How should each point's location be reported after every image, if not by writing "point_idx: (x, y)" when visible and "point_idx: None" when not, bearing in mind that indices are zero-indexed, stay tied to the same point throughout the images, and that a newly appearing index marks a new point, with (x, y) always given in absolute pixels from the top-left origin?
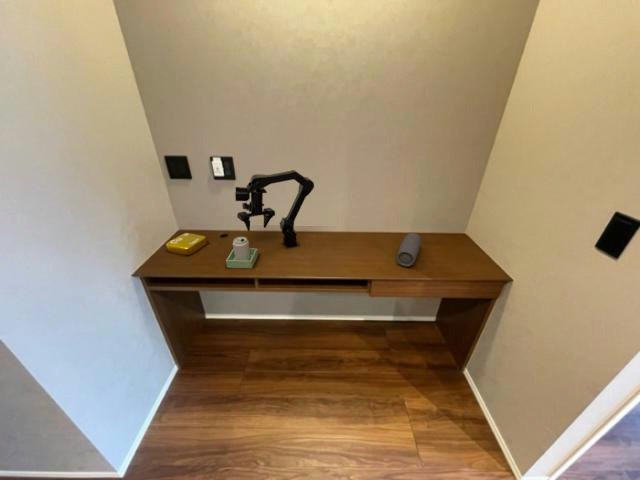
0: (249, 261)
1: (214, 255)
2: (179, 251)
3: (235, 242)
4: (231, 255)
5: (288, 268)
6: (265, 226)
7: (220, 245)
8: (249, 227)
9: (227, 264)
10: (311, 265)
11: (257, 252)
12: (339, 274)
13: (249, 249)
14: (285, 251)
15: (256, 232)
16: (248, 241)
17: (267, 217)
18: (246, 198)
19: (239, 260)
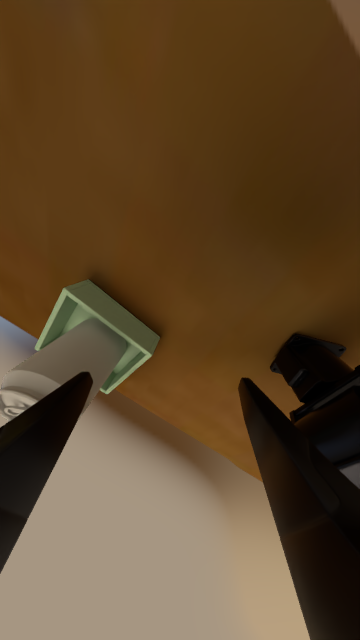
0: (103, 391)
1: (8, 225)
2: None
3: (5, 416)
4: (57, 321)
5: (191, 421)
6: (246, 409)
7: (23, 113)
8: (62, 440)
9: (50, 341)
10: (238, 441)
11: (156, 345)
12: (250, 473)
13: (105, 380)
14: (246, 375)
15: (329, 35)
16: (80, 415)
17: (320, 634)
18: None
19: None
